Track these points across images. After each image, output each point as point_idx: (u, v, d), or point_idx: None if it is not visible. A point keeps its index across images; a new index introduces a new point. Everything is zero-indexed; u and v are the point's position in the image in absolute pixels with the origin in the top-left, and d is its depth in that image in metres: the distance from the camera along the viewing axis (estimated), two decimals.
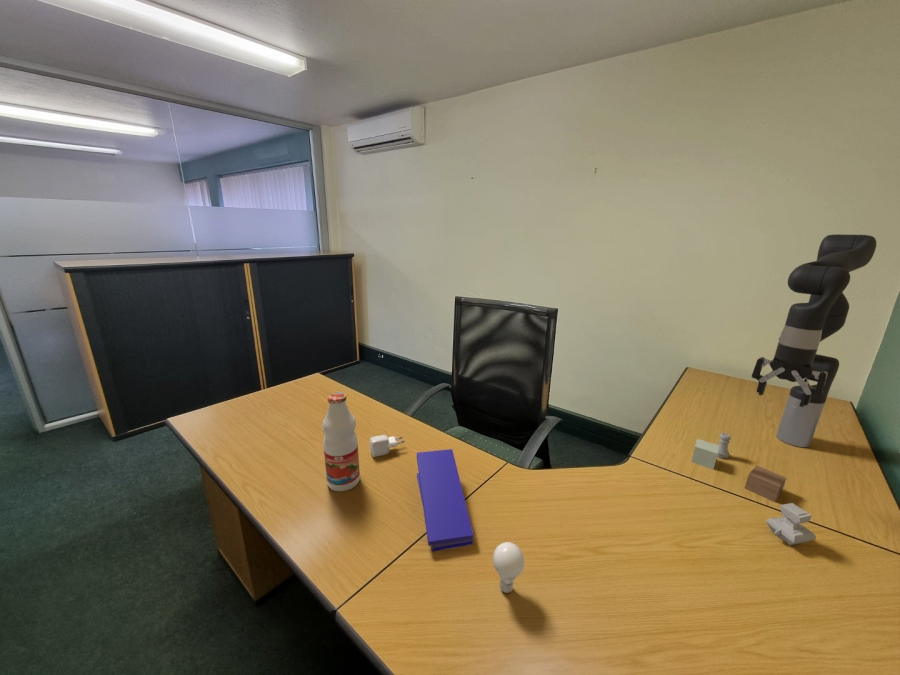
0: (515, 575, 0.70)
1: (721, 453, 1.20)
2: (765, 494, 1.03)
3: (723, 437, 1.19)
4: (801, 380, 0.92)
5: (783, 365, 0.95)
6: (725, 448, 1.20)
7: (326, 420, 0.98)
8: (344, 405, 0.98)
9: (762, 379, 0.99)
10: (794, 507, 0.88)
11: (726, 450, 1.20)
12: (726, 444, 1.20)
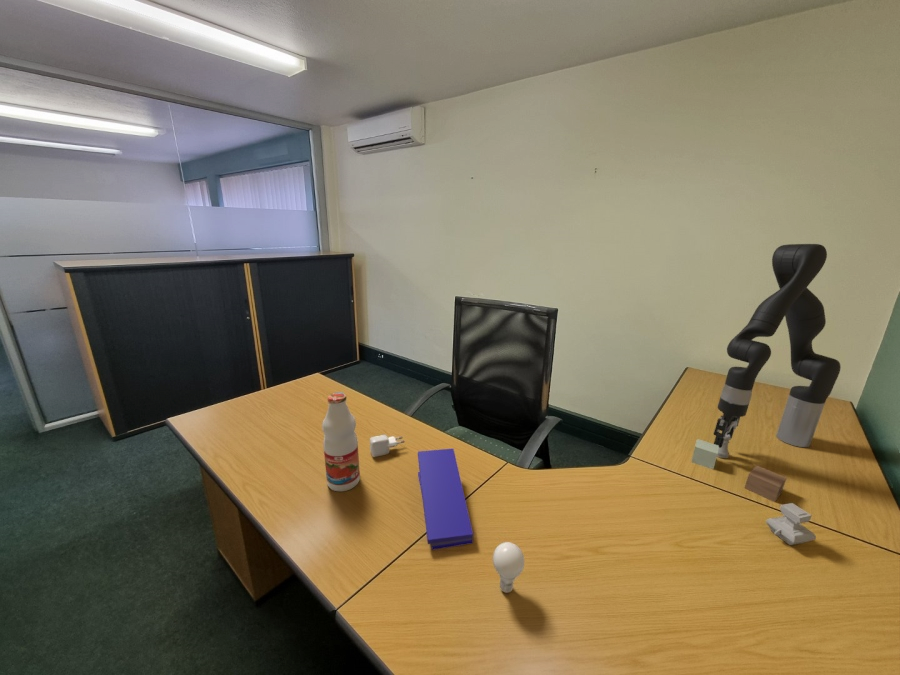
0: (515, 575, 0.70)
1: (721, 453, 1.20)
2: (765, 494, 1.03)
3: None
4: (737, 423, 1.19)
5: (732, 418, 1.16)
6: (725, 448, 1.20)
7: (326, 420, 0.98)
8: (344, 405, 0.98)
9: (725, 435, 1.16)
10: (794, 507, 0.88)
11: (726, 450, 1.20)
12: (726, 444, 1.20)
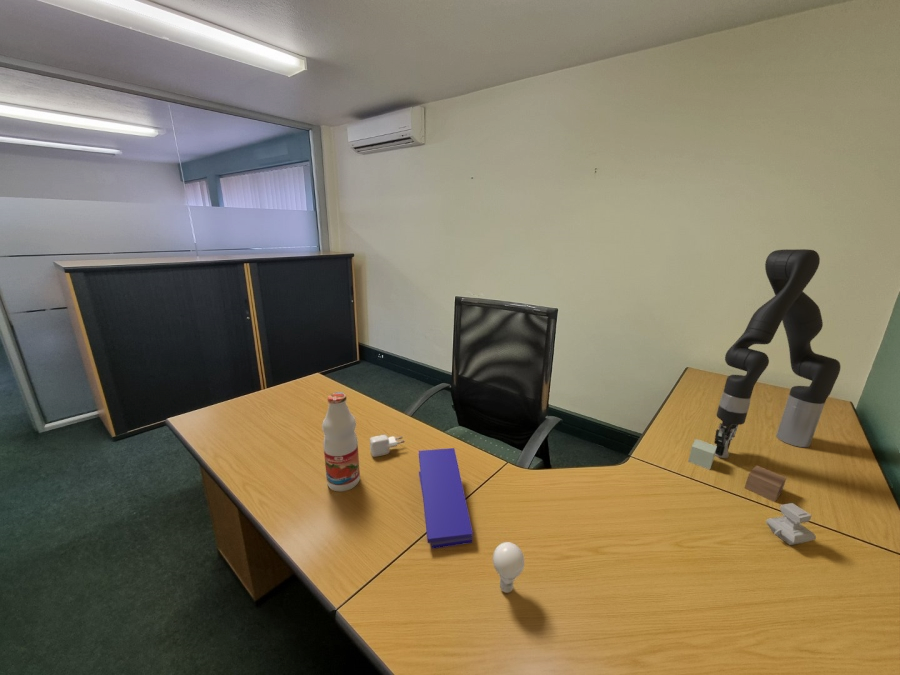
0: (515, 575, 0.70)
1: None
2: (765, 494, 1.03)
3: None
4: (735, 432, 1.20)
5: (731, 426, 1.17)
6: (725, 448, 1.20)
7: (326, 420, 0.98)
8: (344, 405, 0.98)
9: (725, 444, 1.18)
10: (794, 507, 0.88)
11: (726, 450, 1.20)
12: (726, 444, 1.20)
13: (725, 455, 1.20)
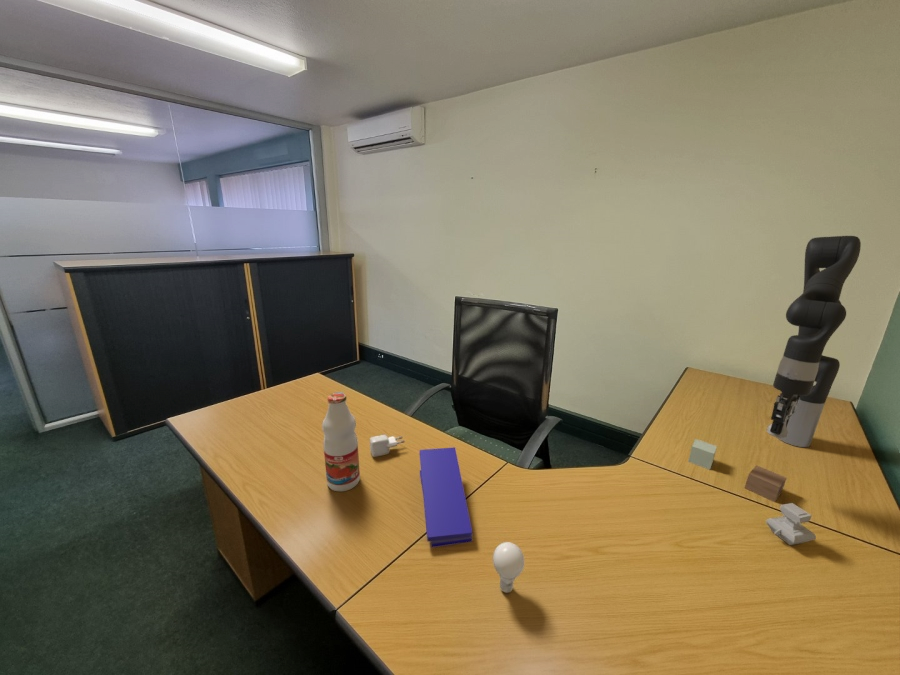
0: (515, 575, 0.70)
1: None
2: (765, 494, 1.03)
3: None
4: (796, 406, 0.99)
5: (793, 398, 0.96)
6: None
7: (326, 420, 0.98)
8: (344, 405, 0.98)
9: (785, 420, 0.97)
10: (794, 507, 0.88)
11: (784, 428, 0.99)
12: None
13: (783, 434, 0.99)
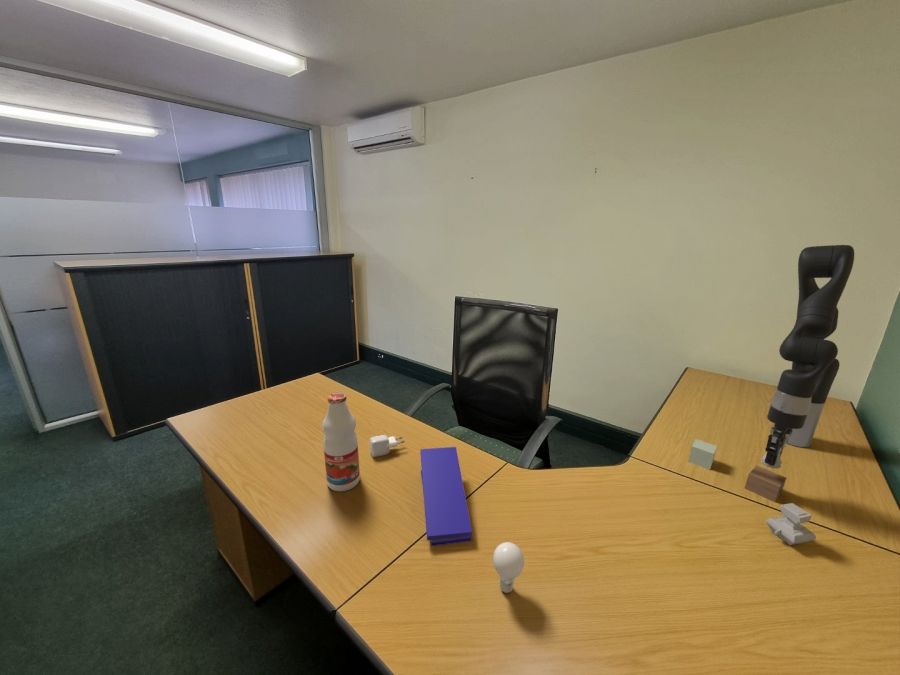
0: (515, 575, 0.70)
1: None
2: (765, 494, 1.03)
3: None
4: (789, 437, 1.01)
5: (786, 430, 0.98)
6: None
7: (326, 420, 0.98)
8: (344, 405, 0.98)
9: None
10: (794, 507, 0.88)
11: (778, 459, 1.01)
12: None
13: (777, 465, 1.01)
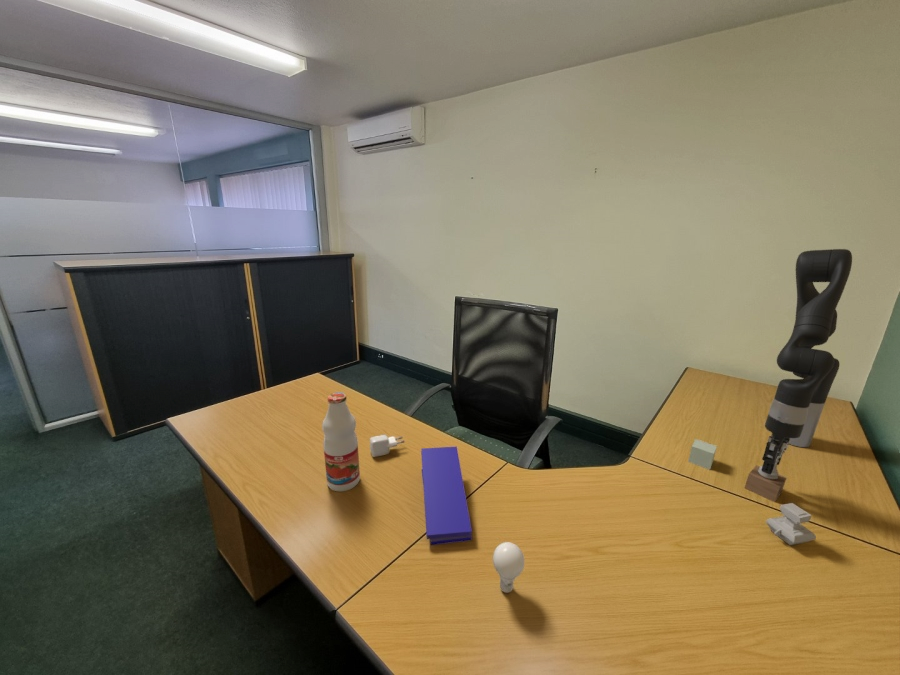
0: (515, 575, 0.70)
1: None
2: (765, 494, 1.03)
3: None
4: (787, 445, 1.02)
5: (784, 439, 0.99)
6: (774, 468, 1.02)
7: (326, 420, 0.98)
8: (344, 405, 0.98)
9: (776, 460, 0.99)
10: (794, 507, 0.88)
11: (775, 470, 1.02)
12: (775, 463, 1.02)
13: (774, 476, 1.02)
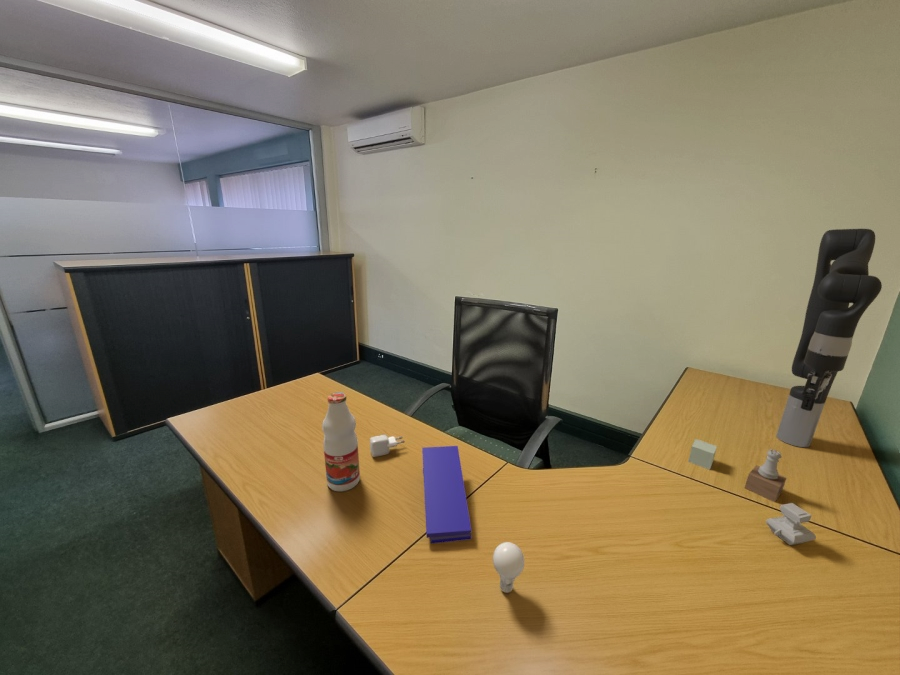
0: (515, 575, 0.70)
1: (769, 473, 1.02)
2: (765, 494, 1.03)
3: (772, 455, 1.02)
4: (828, 380, 0.98)
5: (825, 374, 0.95)
6: (774, 468, 1.02)
7: (326, 420, 0.98)
8: (344, 405, 0.98)
9: (817, 395, 0.95)
10: (794, 507, 0.88)
11: (775, 470, 1.02)
12: (775, 463, 1.02)
13: (774, 476, 1.02)
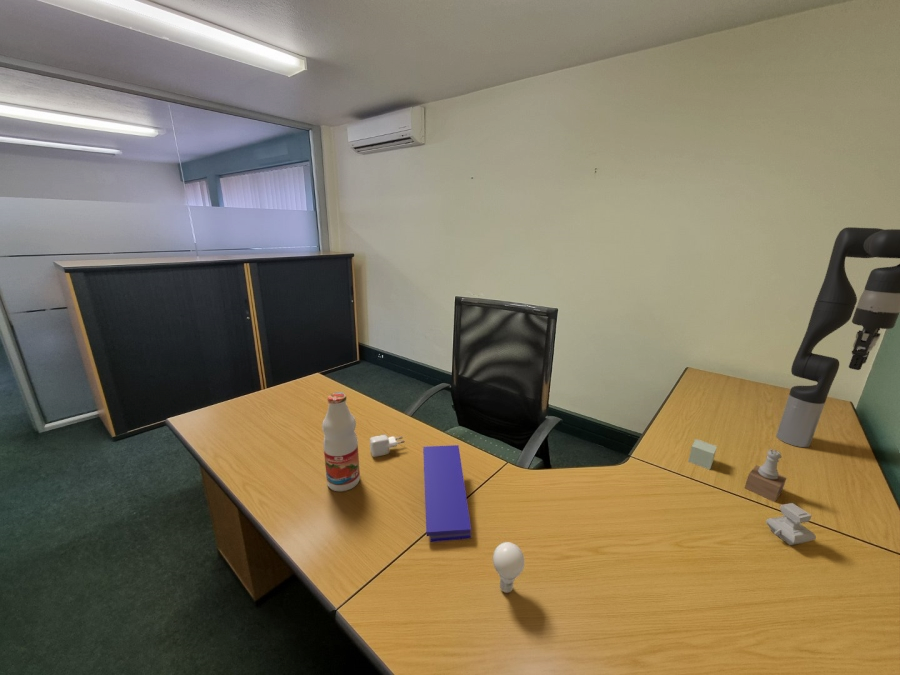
0: (515, 575, 0.70)
1: (769, 473, 1.02)
2: (765, 494, 1.03)
3: (772, 455, 1.02)
4: (876, 340, 0.97)
5: (875, 332, 0.94)
6: (774, 468, 1.02)
7: (326, 420, 0.98)
8: (344, 405, 0.98)
9: (867, 353, 0.94)
10: (794, 507, 0.88)
11: (775, 470, 1.02)
12: (775, 463, 1.02)
13: (774, 476, 1.02)
